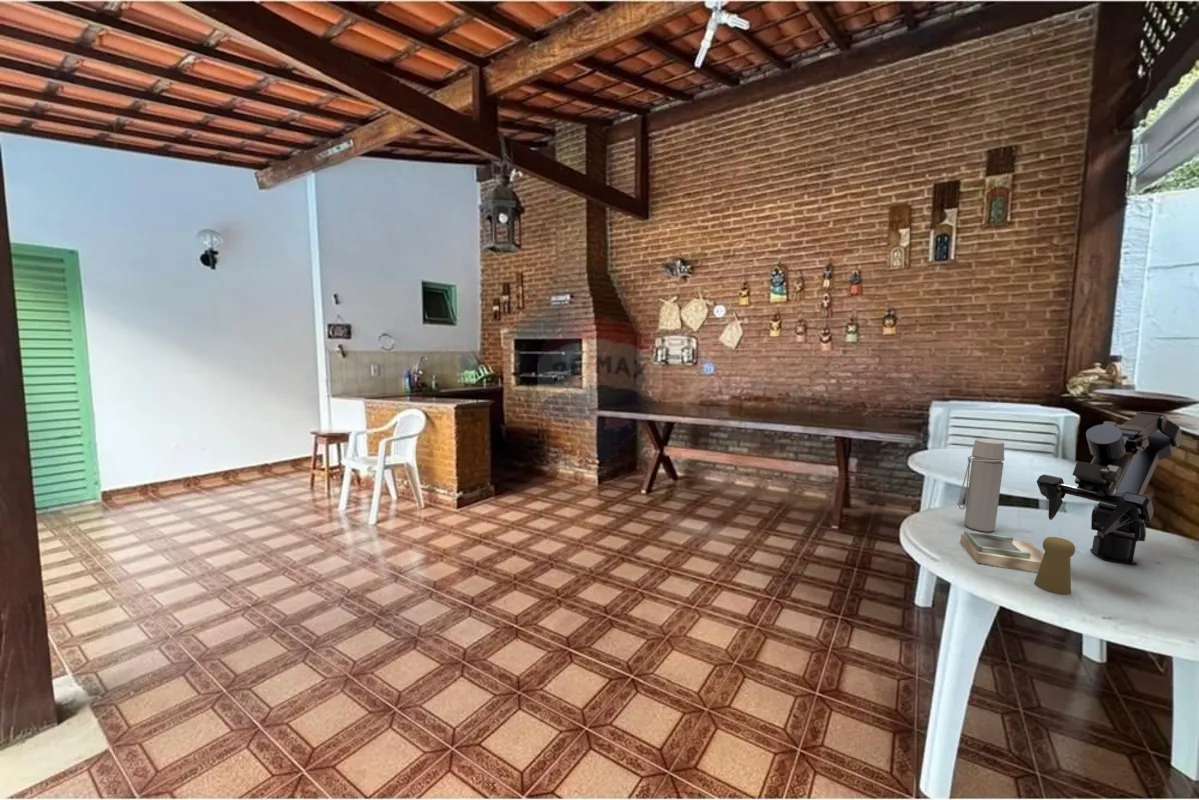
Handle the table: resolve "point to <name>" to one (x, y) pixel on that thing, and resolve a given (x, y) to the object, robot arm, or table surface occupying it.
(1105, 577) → the table surface
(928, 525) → the table surface
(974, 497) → the water bottle
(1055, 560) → the cork
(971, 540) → the dock
